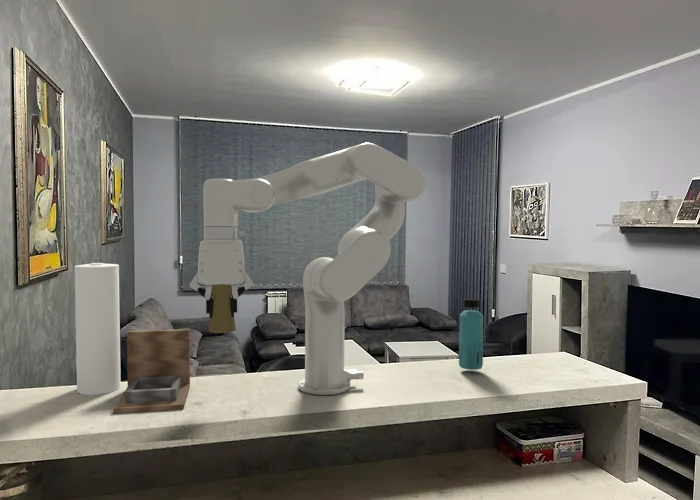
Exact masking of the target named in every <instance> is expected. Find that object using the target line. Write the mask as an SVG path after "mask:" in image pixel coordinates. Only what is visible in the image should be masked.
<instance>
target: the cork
mask: <svg viewBox="0 0 700 500" xmlns="http://www.w3.org/2000/svg"><path fill="white" fill-rule="evenodd" d="M211 296H212V300H213V315H212V318H209V323H208V332H209V333H212V334H226V333H227V334H229V333H233V332H235V331H236V330H237V329H236V328H237V327H236V321H235V316H234V317H232V315H231V299H232V287H231V286H230V285H225V284H219V285H214V286H212V289H211Z"/></svg>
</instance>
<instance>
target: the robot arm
mask: <svg viewBox="0 0 700 500" xmlns="http://www.w3.org/2000/svg"><path fill="white" fill-rule="evenodd" d="M361 181H369V182H371V183H372V184H374V192H375V194H374V195H375V201H374V205H373V207H372V209H371V210H370V211H369V212H368V213H367V214H366V215H365V216H364V217H363V218H362V219H361V220H360V221H359V222H358V223H356V225H354V226H353V227H352V228H351V229H350V230H348V231H347V232H346V233H345V234H344V235H343V236H342V237H341V239H340V240H339V241H338V246H337V253H338V254H337V255H336V256H335V257H334V258H332V257H318V258H315V259H313V260H311V261H310V262H309V263H308V264H307V266H306V267H305V269H304V272H303V277H302V287H303V288H302V289H303V296H304V311H305V312H304V315H305V317H304V320H305V321H304V323H305V324H304V327H305V328H304V329H305V330H304V334H305V335H304V336H305V337H304V344H305V345H304V353H305V354H304V378H302V379H300V380H299V382H298V389H299V390H300V391H301V392H303V393H306V394H310V395H316V396H317V395H318V396H330V395H331V396H332V395H338V394H342V393H345V392H347V391H349V390H350V389H351V381H352V380H363V379H364V377H365V375H364V372H363V371H362V370H361V371H360V370H359V371H357V370H356V369H349V370H348V369H346V367H345V330H346V329H345V325H346V324H345V321H346V317H345V316H346V315H345V313H346V312H345V303H344V302H345V301H348V300H350V299H351V298H353V296H355V295H356V294H357V293H359V291H361V290H362V288H364V287H365V285H367V284H368V283H369V282H370V281H371V280H372V279H373V278H374V277H376V275H377V274H379V272H380V271H382V270H383V268H384V267H385V266H386V264H387V262H388V261H389V259H390V256H391V251H392V249H391V248H392V247H391V242H390V240H392V239H393V237H394V236H395V235H396V234H397V233H398V232H399V230H400V229H401V227H402V225H403V223H404V220H405V211H406V209H405V208H406V206H405V205H406V203H405V202H411V201H414V200H416V199H418V198H420V197H421V196H422V195H423V193H424V191H425V189H426V186H427V185H426V178H425V175H424V172H423V171H422V170H421V169H420V168H419V167H417V166H416V165H415V164H413V163H411V162H410V161H408V160H406V159H404V158H402V157H400V156H398V155H397V154H395V153H393V152H392V151H390V150H388V149H386V148H384V147H382V146H379V145H377V144H375V143H371V142H364V143H360V144H357V145H353V146H351V147H348V148H344V149H341V150H337V151H334V152H331V153H327V154H324V155H320V156H318V157H314V158H311V159H307V160H304V161H301V162H299V163H296V164H295V165H292V166H290V167H288V168H285V169H283V170H280V171H276V172H273V173H269V174H267V175H264V176H261V177H257V178H250V179H249V178H248V179H247V178H245V179H237V180H236V179H235V180H234V179H230V178H209V179H206V180H205V181H204V183H203V189H202V191H203V193H202V195H203V198H202V199H203V200H202V201H203V240H200V242H199V249H198V261H197V272H196V274H195V275H194V276H193V278H192V280H191V282H190V283H189V284H188V286H189V288H191V289H192V290H194V291H196V292H198V294H200V295H201V296H202V297H203V298H204V299H205V309H206V310H205V311H206V312H205V313H206V314H209V317H208V318H209V319H210V318H212V315H213V300H212V297H213V296H212V295H211V289H212V286H214V285H219V284H225V285H230V286H231V287H232V296H231V298H232V299H231V315H232V317H234V318H235V313H236V314H237V313H238V298H239V297H240V296H241V295H242V294H243V293H244V292H246V291H247V290H249V289H251V287H253V286H254V282H253V280H252V279H251V277H250V276H249V275H248V273H247V272H246V270H245V266H246V265H245V254H244V245H243V242H242V240H239V238H240V237H242V236H246V229H242V228H239V211H243V212H245V213H253V214H254V213H262V212H265V211H267V210H268V209H270V208H271V207H273V206H276V205H279V204H282V203H283V204H284V203H286V202H290V201H295V200H300V199H307V198H312V197H315V196H321V195H323V194H325V193H329V192H332V191H335V190H338V189H341V188H343V187H347V186H350V185H353V184H356V183H359V182H361ZM243 283H244V284H243ZM204 286H205V288H204ZM238 286H239V288H238Z"/></svg>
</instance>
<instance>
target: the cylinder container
mask: <svg viewBox="0 0 700 500" xmlns="http://www.w3.org/2000/svg"><path fill="white" fill-rule="evenodd" d="M74 295H75V296H74V299H75V301H74V302H75V303H74V304H75V305H74V307H75V349H76V350H75V353H76V354H75V357H76V359H75V360H76V362H75V363H76V393H78V394H79V393H80V394H79V395H83V396H84V395H85V396H95V395H105V394H108V393H113V392H115V391H117V390H120V388H121V382H122V380H121V330H120V329H121V327H120V326H121V325H120V324H121V323H120V321H121V320H120V319H121V317H120V314H121V313H120V264H117V263H104V262H90V263H86V264H79V265H78V264H77V265H74Z"/></svg>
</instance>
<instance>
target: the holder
mask: <svg viewBox="0 0 700 500" xmlns="http://www.w3.org/2000/svg"><path fill="white" fill-rule="evenodd" d="M190 330H191V329H190V328H187V329H186V328H185V329H184V328H183V329H182V328H181V329H158V330H157V329H154V330H128V331H127V332H126V353H127V354H126V357H127V360H126V362H127V373H126V374H127V387H126V389H125V390H124V392H123V393H122V394H121V397H119V399H118V401H117V402H116V404H115V406H114V407H113V410H112V411H113V412H112V413H113V414H126V413H127V414H128V413H141V412H142V413H143V412H158V411H171V410H172V411H176V410H184V408H185V406H186V402H187V399H188V394H189V391H190V388H191V364H190V363H191V357H190V356H191V352H190V351H191V350H190V347H191V346H190V345H191V344H190V342H191V339H190V335H191V334H190V333H191V331H190Z"/></svg>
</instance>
